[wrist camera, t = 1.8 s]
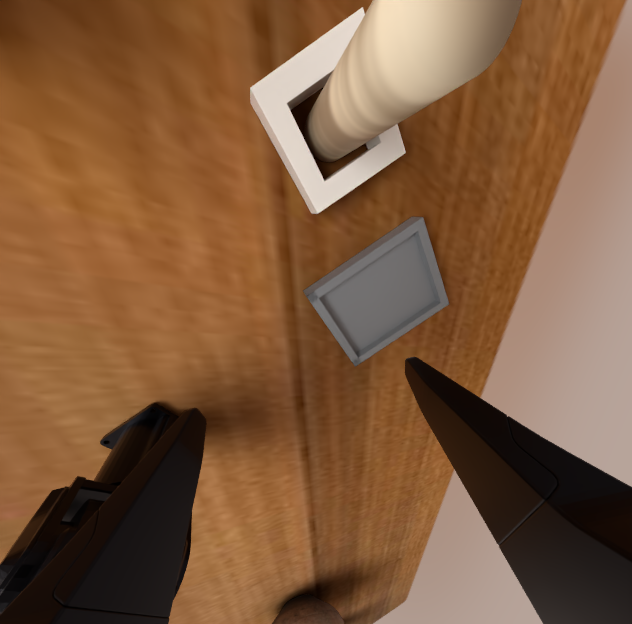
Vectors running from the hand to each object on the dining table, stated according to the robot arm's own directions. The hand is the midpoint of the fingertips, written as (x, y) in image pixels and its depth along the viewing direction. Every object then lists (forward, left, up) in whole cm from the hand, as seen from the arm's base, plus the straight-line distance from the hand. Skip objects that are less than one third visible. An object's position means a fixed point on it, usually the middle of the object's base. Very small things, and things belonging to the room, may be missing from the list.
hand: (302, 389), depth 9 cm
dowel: (+10, +8, -12) cm, 18 cm away
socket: (+10, +8, -12) cm, 18 cm away
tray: (+8, -6, -12) cm, 16 cm away
